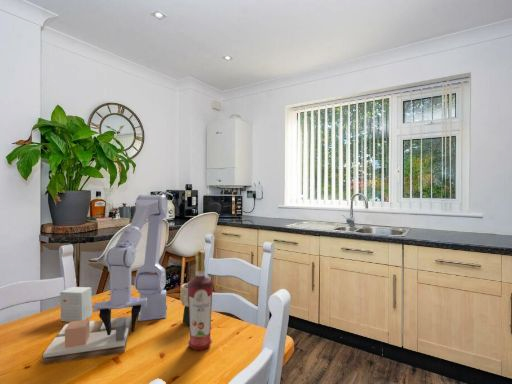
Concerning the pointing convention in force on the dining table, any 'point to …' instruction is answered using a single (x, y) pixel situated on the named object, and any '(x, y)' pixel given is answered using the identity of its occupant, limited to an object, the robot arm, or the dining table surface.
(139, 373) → the dining table surface
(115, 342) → the white tray
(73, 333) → the block
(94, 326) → the board
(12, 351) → the dining table surface
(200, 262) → the liquor
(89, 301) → the small box
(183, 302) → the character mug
